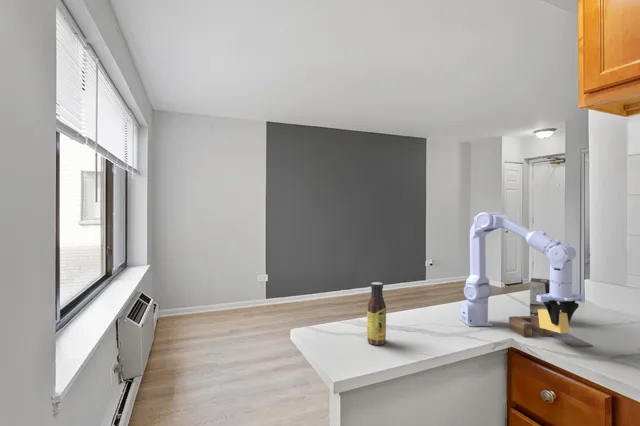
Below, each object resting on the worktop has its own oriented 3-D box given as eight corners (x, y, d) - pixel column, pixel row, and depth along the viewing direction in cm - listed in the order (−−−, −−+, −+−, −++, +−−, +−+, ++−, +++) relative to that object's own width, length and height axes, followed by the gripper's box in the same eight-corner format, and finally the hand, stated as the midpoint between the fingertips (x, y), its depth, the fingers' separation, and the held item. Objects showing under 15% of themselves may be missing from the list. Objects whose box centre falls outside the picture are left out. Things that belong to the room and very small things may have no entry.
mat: (572, 346, 104) (572, 345, 104) (546, 333, 115) (546, 332, 115) (593, 346, 105) (593, 345, 105) (565, 333, 116) (565, 332, 116)
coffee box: (548, 324, 124) (549, 283, 124) (529, 321, 128) (529, 281, 128) (549, 318, 131) (550, 279, 131) (530, 315, 135) (531, 277, 135)
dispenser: (523, 337, 112) (523, 323, 112) (508, 328, 120) (508, 315, 120) (550, 336, 113) (551, 322, 113) (534, 328, 121) (534, 315, 121)
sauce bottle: (381, 347, 104) (381, 286, 103) (363, 343, 107) (364, 284, 107) (388, 340, 109) (388, 282, 109) (371, 336, 112) (371, 280, 112)
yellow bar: (560, 333, 100) (558, 313, 101) (539, 327, 109) (537, 309, 110) (569, 332, 100) (567, 313, 101) (548, 327, 109) (546, 309, 110)
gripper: (548, 284, 98) (547, 329, 98) (593, 284, 99) (592, 328, 99) (532, 279, 105) (531, 320, 105) (574, 279, 106) (573, 320, 106)
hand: (560, 323), depth 102 cm, fingers closed on yellow bar, 3 cm apart
